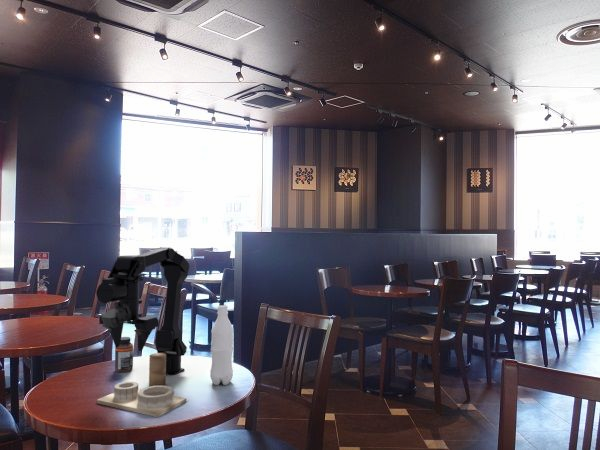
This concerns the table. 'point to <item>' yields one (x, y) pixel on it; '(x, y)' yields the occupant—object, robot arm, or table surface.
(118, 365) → the supplement bottle
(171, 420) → the table surface
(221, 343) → the water bottle
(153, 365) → the walnut peg
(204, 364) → the table surface
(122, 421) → the table surface
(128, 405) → the two-ring peg board
